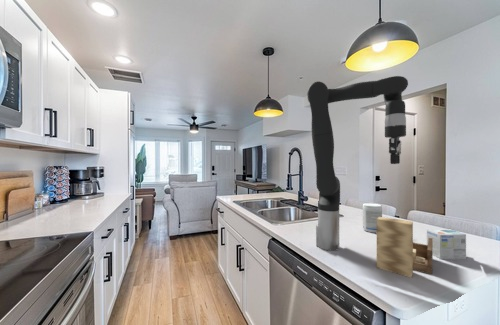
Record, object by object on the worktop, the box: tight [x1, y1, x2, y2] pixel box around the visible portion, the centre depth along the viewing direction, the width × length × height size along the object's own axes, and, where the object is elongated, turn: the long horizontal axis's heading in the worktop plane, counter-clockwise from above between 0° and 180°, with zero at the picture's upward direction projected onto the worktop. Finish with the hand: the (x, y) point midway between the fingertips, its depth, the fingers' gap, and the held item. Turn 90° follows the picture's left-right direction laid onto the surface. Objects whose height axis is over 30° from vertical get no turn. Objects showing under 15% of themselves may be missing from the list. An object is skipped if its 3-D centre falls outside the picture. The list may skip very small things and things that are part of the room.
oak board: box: [376, 216, 414, 278], centre depth 74 cm, size 10×4×18 cm, turn 48°
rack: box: [413, 238, 434, 275], centre depth 82 cm, size 16×15×9 cm
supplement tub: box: [362, 202, 383, 234], centre depth 119 cm, size 10×10×15 cm
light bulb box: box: [426, 228, 467, 260], centre depth 85 cm, size 11×7×11 cm, turn 92°
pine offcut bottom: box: [413, 256, 425, 264], centre depth 79 cm, size 12×4×3 cm, turn 49°
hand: (395, 163), depth 90 cm, fingers open, 8 cm apart
